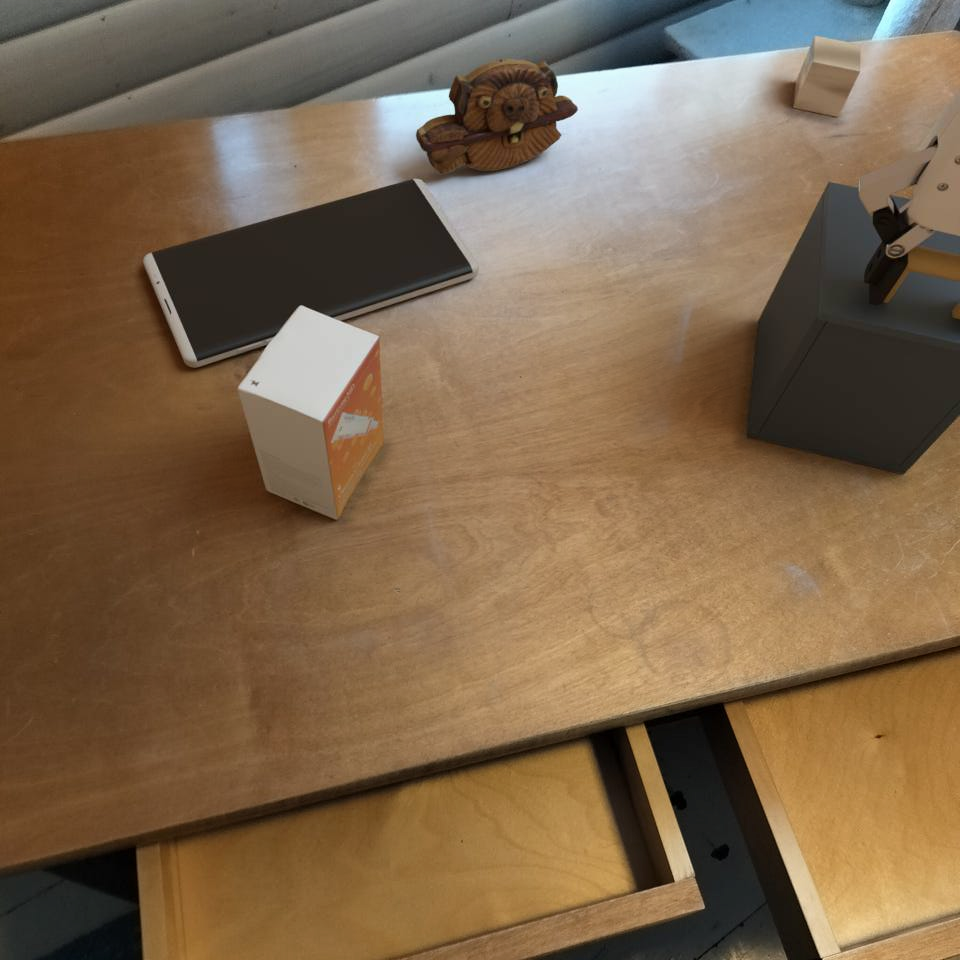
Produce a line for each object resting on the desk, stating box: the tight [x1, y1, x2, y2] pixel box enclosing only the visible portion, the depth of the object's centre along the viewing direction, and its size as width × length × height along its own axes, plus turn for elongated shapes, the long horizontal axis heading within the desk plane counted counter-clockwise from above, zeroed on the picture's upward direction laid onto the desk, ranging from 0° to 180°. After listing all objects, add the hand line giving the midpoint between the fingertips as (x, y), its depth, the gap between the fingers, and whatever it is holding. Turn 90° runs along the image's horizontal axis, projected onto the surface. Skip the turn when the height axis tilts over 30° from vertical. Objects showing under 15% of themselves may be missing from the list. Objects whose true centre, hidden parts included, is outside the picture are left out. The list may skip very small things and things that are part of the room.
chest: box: [745, 191, 960, 475], centre depth 67 cm, size 13×13×15 cm
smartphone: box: [142, 178, 480, 369], centre depth 76 cm, size 13×27×2 cm, turn 117°
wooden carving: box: [415, 58, 579, 175], centre depth 82 cm, size 16×5×10 cm, turn 118°
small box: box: [237, 305, 385, 521], centre depth 61 cm, size 8×6×13 cm
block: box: [792, 35, 862, 118], centre depth 93 cm, size 5×5×6 cm
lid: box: [818, 181, 960, 352], centre depth 58 cm, size 14×13×5 cm
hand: (925, 299), depth 57 cm, fingers closed on lid, 6 cm apart
